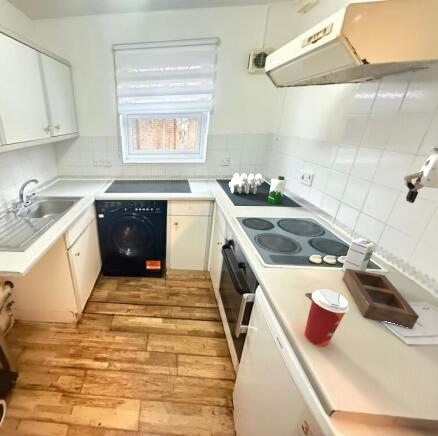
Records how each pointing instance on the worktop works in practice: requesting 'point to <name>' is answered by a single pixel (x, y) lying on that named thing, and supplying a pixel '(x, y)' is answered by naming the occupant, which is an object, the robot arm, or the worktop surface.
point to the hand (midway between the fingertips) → (428, 203)
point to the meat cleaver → (309, 295)
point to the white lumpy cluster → (246, 182)
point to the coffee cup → (324, 316)
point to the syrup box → (359, 255)
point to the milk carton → (276, 190)
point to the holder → (379, 298)
